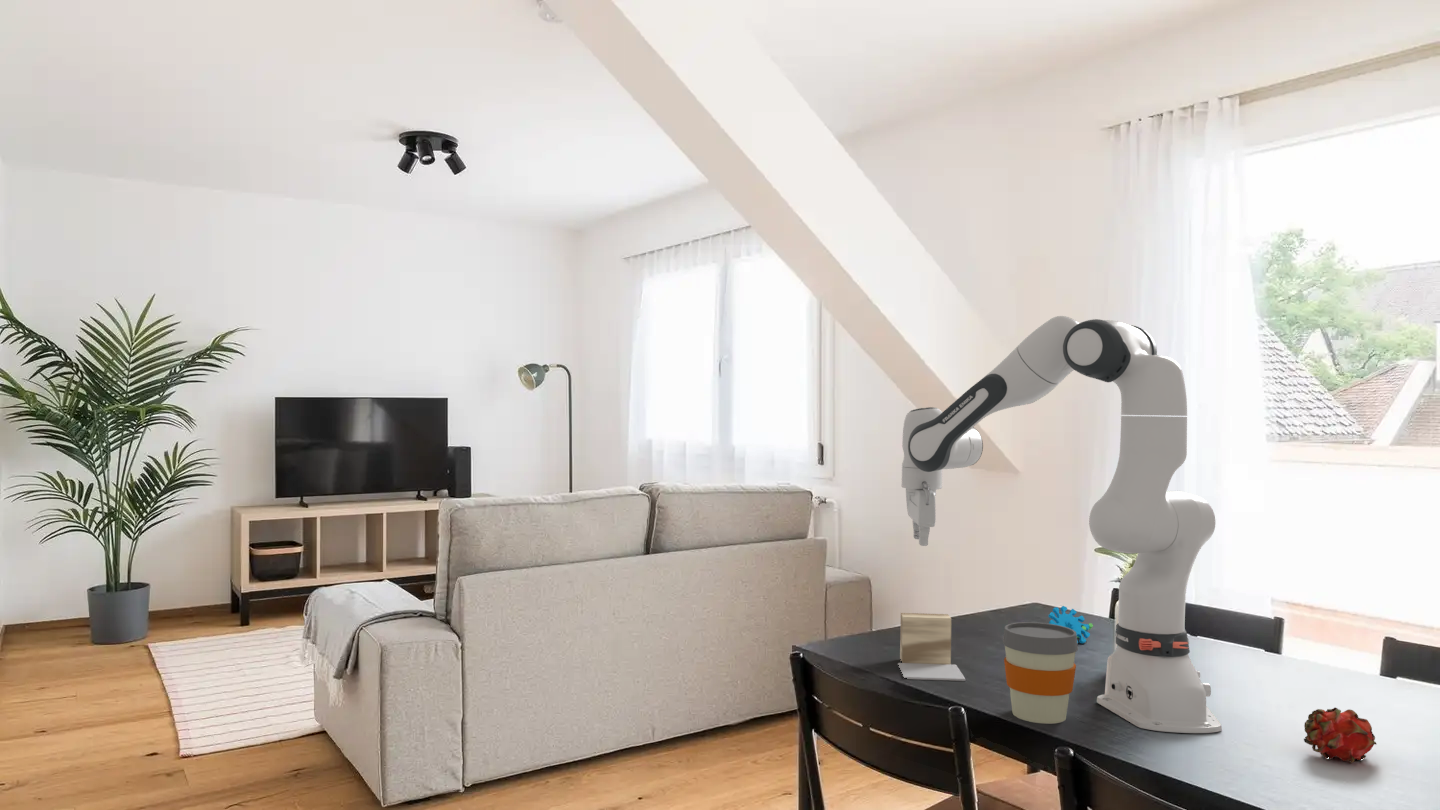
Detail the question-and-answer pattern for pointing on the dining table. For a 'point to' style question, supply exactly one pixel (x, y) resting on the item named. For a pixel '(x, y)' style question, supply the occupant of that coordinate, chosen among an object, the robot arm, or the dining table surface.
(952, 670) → the mat
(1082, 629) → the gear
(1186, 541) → the robot arm
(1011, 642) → the reusable coffee cup
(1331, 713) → the dragon fruit
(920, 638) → the birch slab
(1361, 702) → the dining table surface
